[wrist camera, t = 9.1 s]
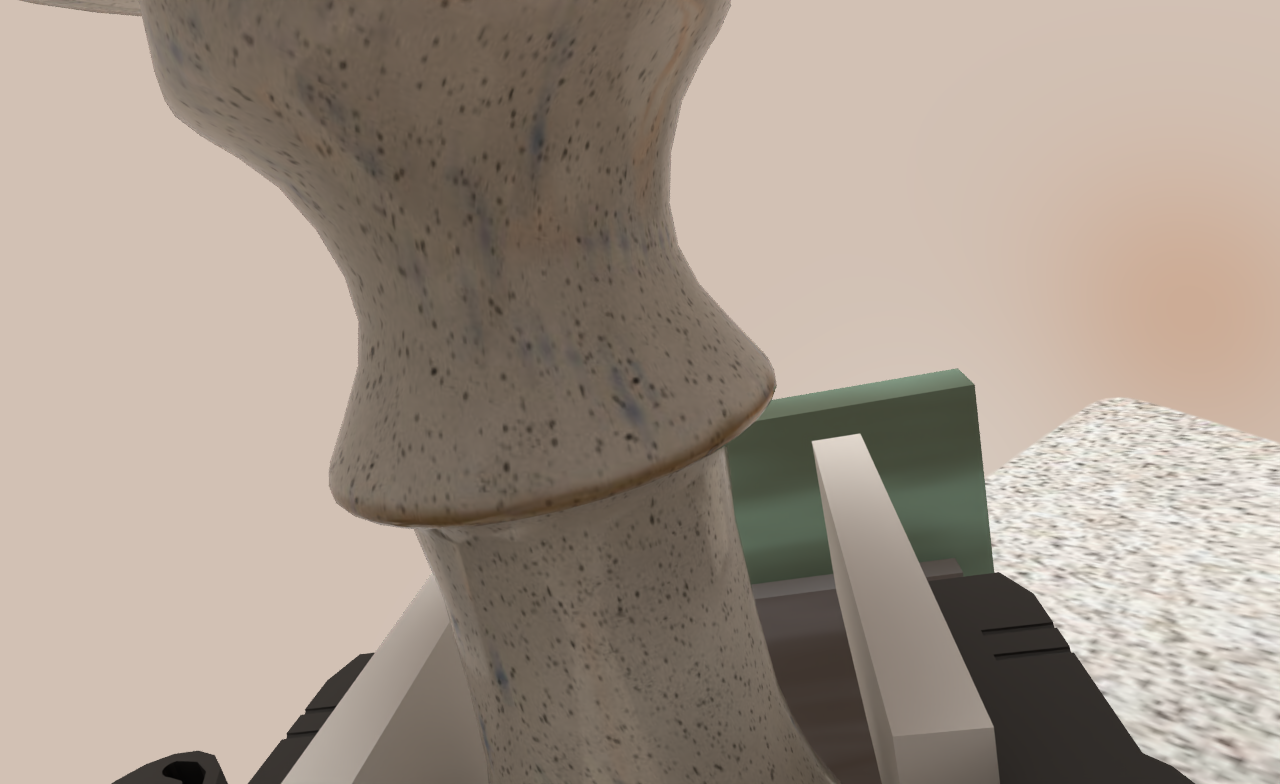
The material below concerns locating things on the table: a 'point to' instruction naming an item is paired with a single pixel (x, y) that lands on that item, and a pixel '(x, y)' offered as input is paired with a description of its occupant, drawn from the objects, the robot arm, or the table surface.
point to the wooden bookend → (798, 544)
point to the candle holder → (523, 353)
